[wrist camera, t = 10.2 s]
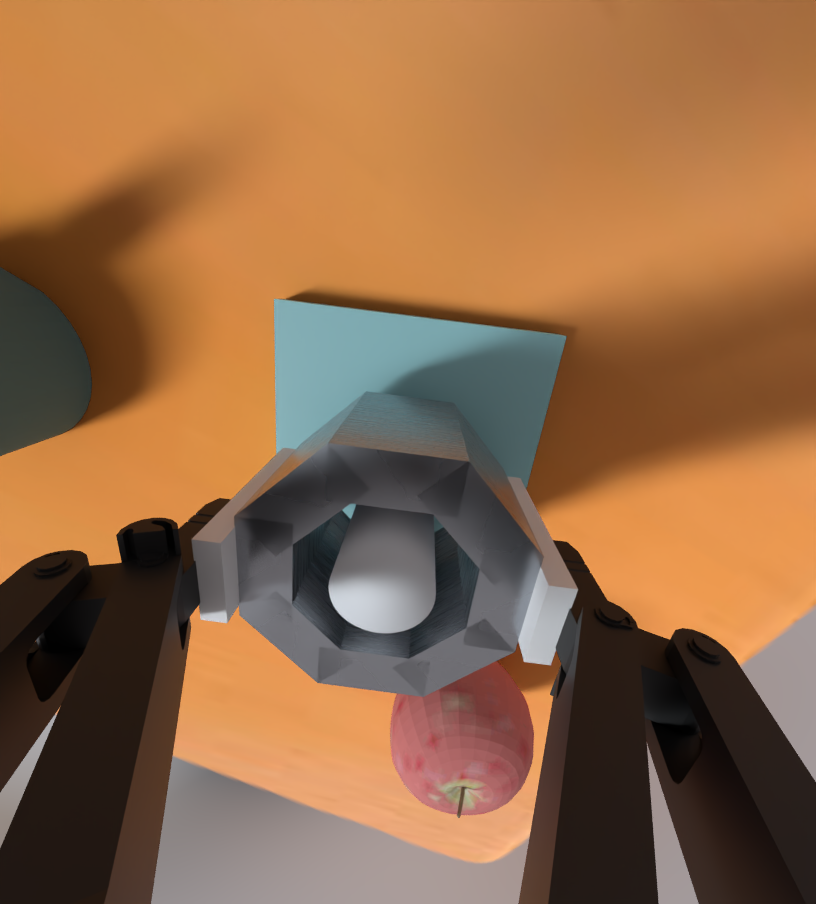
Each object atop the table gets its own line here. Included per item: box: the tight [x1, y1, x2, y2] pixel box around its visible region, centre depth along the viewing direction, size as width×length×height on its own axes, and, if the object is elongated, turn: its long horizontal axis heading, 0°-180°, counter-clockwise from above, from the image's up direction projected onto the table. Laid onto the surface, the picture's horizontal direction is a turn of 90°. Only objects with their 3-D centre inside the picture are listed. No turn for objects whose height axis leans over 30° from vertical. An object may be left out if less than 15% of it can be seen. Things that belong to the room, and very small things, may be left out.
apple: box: [390, 661, 534, 818], centre depth 20 cm, size 7×7×8 cm
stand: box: [274, 299, 567, 633], centre depth 15 cm, size 14×12×9 cm
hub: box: [234, 391, 544, 697], centre depth 14 cm, size 8×8×6 cm
